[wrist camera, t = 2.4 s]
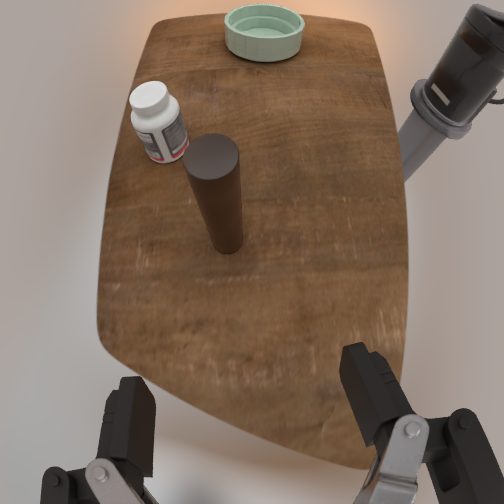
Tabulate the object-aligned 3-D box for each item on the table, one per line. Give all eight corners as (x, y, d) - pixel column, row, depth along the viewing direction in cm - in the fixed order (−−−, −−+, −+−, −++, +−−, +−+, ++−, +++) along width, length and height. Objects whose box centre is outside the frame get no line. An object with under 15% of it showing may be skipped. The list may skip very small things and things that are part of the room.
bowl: (296, 29, 42) (300, 6, 36) (303, 67, 39) (308, 41, 33) (228, 27, 42) (227, 3, 36) (223, 64, 39) (221, 37, 33)
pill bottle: (184, 124, 35) (169, 70, 26) (193, 156, 34) (178, 101, 25) (144, 138, 35) (120, 87, 25) (151, 170, 34) (124, 121, 24)
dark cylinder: (243, 225, 32) (240, 132, 16) (242, 254, 31) (238, 180, 16) (213, 224, 32) (186, 133, 16) (212, 253, 31) (179, 180, 16)
